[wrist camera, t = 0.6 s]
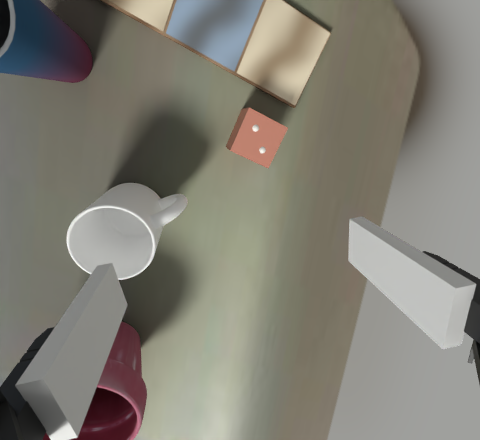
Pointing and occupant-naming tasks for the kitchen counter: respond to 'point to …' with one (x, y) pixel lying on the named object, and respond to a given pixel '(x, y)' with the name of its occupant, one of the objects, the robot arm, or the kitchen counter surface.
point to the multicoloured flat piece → (241, 38)
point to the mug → (122, 229)
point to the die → (256, 137)
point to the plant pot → (117, 393)
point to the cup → (40, 43)
